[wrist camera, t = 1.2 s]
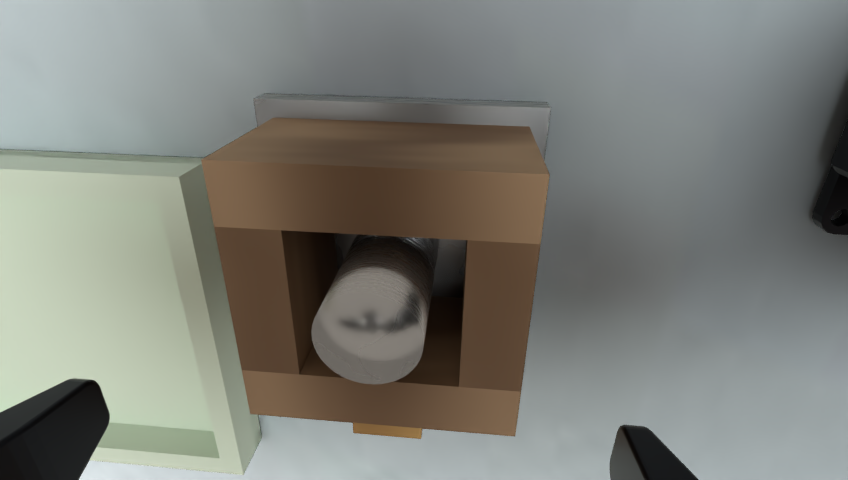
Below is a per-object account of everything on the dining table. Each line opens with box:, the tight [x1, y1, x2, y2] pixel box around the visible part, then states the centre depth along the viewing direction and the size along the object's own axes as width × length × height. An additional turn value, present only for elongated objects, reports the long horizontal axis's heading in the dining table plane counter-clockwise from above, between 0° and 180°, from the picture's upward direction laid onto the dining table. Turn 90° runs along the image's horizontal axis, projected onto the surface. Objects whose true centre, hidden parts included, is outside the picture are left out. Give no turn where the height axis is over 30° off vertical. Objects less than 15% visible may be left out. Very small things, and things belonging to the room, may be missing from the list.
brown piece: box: [201, 118, 550, 439], centre depth 13 cm, size 7×8×4 cm
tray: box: [0, 149, 262, 475], centre depth 17 cm, size 12×12×2 cm
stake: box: [254, 94, 551, 384], centre depth 13 cm, size 8×8×6 cm
